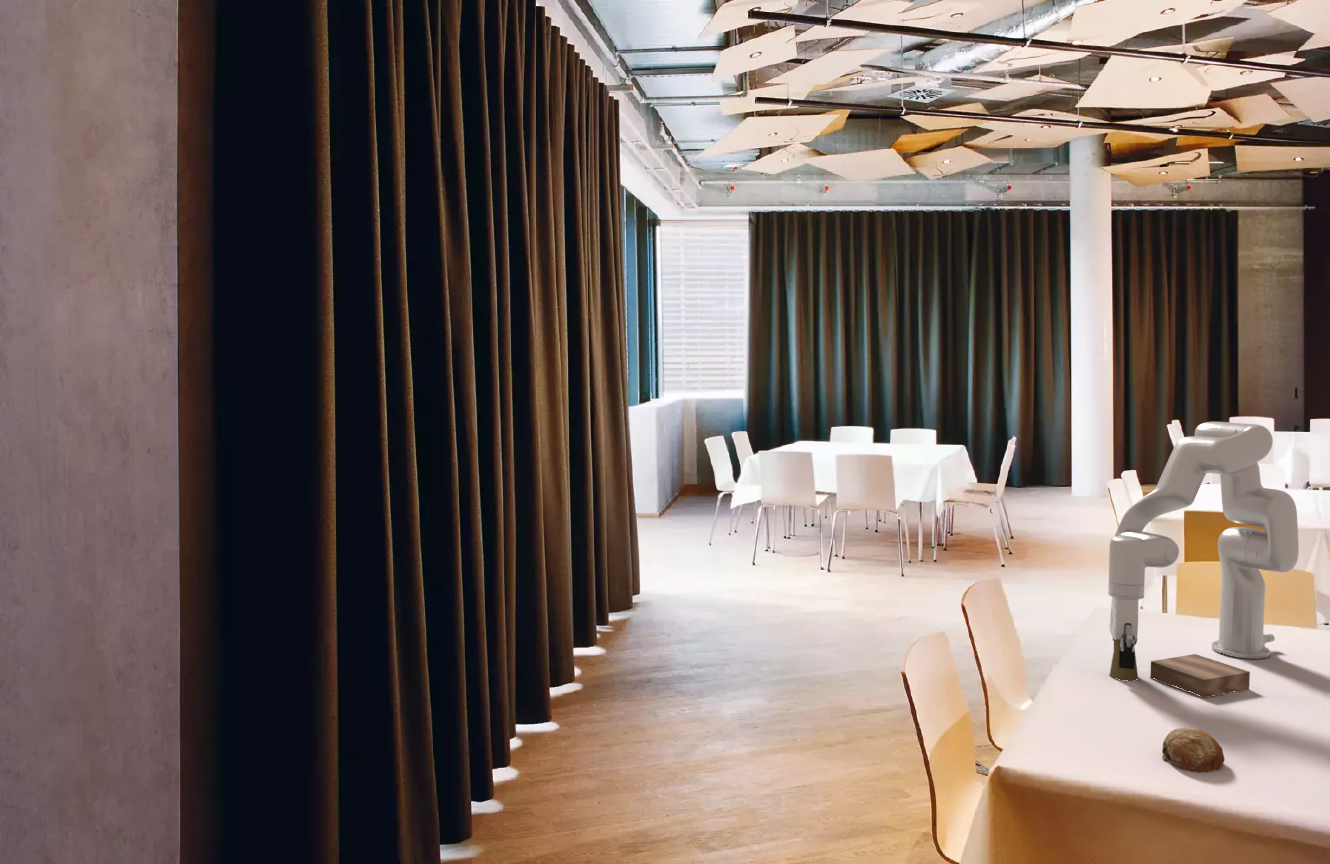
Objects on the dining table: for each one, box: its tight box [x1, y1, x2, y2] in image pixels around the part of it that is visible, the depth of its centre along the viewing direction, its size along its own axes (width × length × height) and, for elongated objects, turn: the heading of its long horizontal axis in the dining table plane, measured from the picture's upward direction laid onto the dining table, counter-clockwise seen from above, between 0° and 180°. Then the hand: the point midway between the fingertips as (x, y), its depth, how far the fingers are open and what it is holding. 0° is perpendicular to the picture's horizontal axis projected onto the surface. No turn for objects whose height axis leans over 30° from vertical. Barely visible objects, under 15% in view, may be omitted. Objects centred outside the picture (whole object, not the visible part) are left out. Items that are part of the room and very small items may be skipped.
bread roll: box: [1161, 727, 1225, 773], centre depth 177 cm, size 10×10×8 cm
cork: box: [1109, 636, 1139, 682], centre depth 223 cm, size 6×6×11 cm
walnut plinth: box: [1150, 653, 1251, 698], centre depth 218 cm, size 14×14×4 cm
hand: (1123, 661), depth 223 cm, fingers open, 9 cm apart
